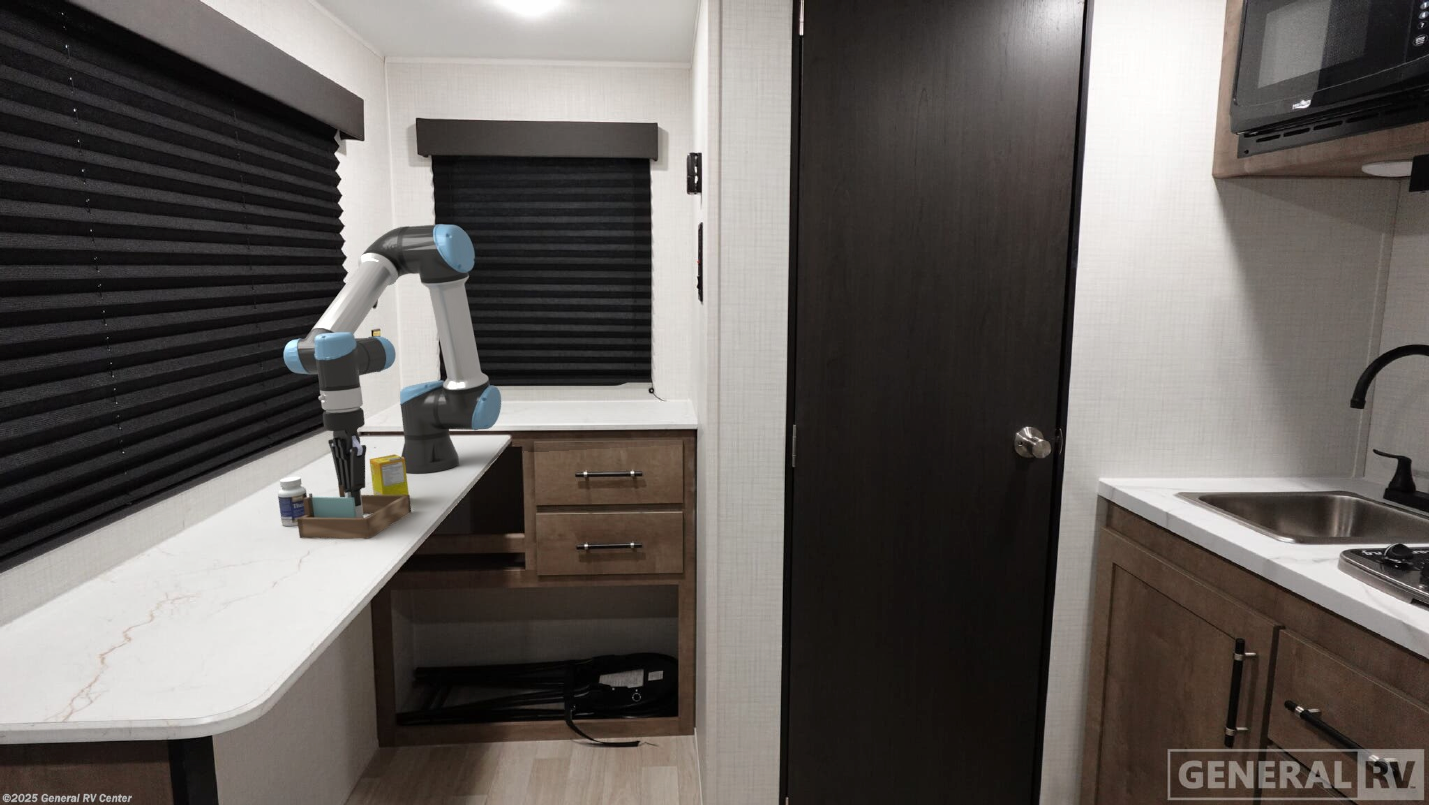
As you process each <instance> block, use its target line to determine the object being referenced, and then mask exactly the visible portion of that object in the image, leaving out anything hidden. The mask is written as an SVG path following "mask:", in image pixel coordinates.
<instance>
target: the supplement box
mask: <svg viewBox="0 0 1429 805" xmlns="http://www.w3.org/2000/svg"><path fill="white" fill-rule="evenodd" d="M369 467H370V476H371V481H372V491H373V495H410V494H409V486H408V479H407V478H408V477H407V472H406V467H405V459H404V457H401V455H399V454H398V455H397V454H390V455H385V456H380V457H379V456H378V457H375V458H369Z"/></svg>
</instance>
